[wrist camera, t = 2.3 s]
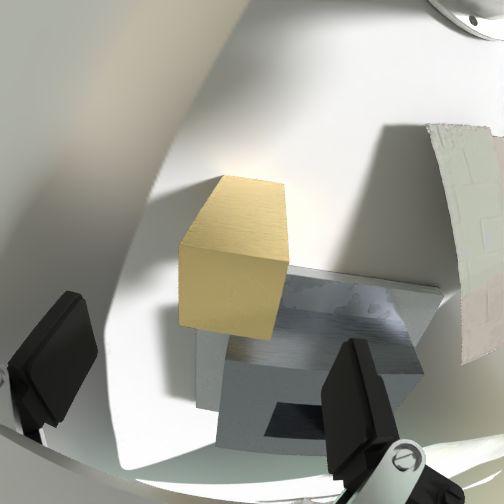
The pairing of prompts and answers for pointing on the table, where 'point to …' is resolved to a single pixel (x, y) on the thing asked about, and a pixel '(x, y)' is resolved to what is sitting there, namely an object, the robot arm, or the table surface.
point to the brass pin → (235, 259)
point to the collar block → (309, 358)
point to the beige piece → (475, 228)
